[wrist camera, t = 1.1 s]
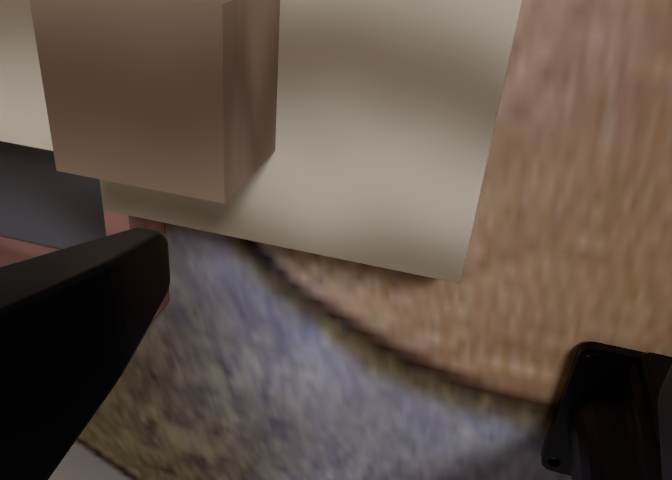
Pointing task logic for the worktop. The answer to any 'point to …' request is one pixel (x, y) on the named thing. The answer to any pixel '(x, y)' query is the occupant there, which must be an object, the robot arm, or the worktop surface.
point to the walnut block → (161, 90)
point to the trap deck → (301, 141)
